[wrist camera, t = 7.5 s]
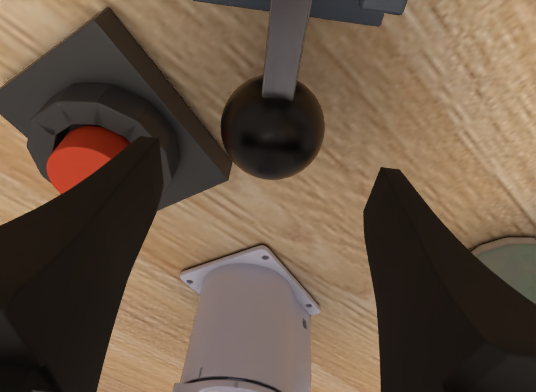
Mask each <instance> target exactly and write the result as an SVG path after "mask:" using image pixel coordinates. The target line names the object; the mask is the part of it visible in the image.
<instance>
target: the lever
mask: <svg viewBox="0 0 536 392" xmlns="http://www.w3.org/2000/svg"><path fill="white" fill-rule="evenodd" d="M311 4H312V0H271V5H270V15H269V25H268V35H267V45H266V55H265V64H264V74H263V75H261V76H257V77H255V78H252V79H250V80H248V81H246V82H245V83H243V84H242V85H241V86H239V87H238V88H237V89H236V90H235V91H234V92H233V94H232V95H231V96H230V98H229V99H228V101H227V103H226V105H225V107H224V110H223V114H222V118H221V136H222V141H223V144H224V147H225V149H226V151H227V153H228V155H229V156H230V158H231V159H232V161H233V162H234V163H235V164H236V165H237V166H238V167H239V168H241V169H242V170H243V171H245V172H246V173H248V174H250V175H252V176H255V177H257V178H261V179H267V180H278V179H284V178H288V177H291V176H293V175H295V174H297V173H299V172H301V171H302V170H304V169H305V168H306V167H307V166H308V165H309V164H310V163H311V162H312V161H313V160H314V158H315V157H316V155H317V154H318V152H319V150H320V148H321V145H322V142H323V138H324V132H325V122H324V115H323V112H322V109H321V106H320V104H319V102H318V100H317V98H316V97H315V95H314V94H313V93H312V92H311V91H310V90H309V89H308V88H307V87H306V86H305V85H304V84H302V83H301V82H299V81H297V78H298V73H299V67H300V62H301V57H302V51H303V46H304V41H305V36H306V30H307V25H308V20H309V15H310V9H311Z"/></svg>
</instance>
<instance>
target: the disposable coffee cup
mask: <svg viewBox="0 0 536 392" xmlns="http://www.w3.org/2000/svg"><path fill="white" fill-rule="evenodd" d="M471 253H472V254H473V255H475V256H476V257H477V258H478V259H479V260H480V261H481V262H482V263H483V264H484V265H486V266H487V267H488V268H489V269H490V270H491V271H493V272H494V273H495V274H496V275H498V276H499V277H500V278H501V279H503V280H504V281H505V282H506V283H507V284H509V285H510V286H511V287H513V288H514V289H515V290H517V291H518V292H519V293H521V294H522V295H523V296H525V297H526V298H527V299H529V300H530V301H532V302H533V303H535V304H536V239H534V238H503V239H500V240H496V241H493V242H490V243H486V244H483V245H480V246H479V247H477V248H476V249H474V250H473V251H471Z"/></svg>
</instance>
